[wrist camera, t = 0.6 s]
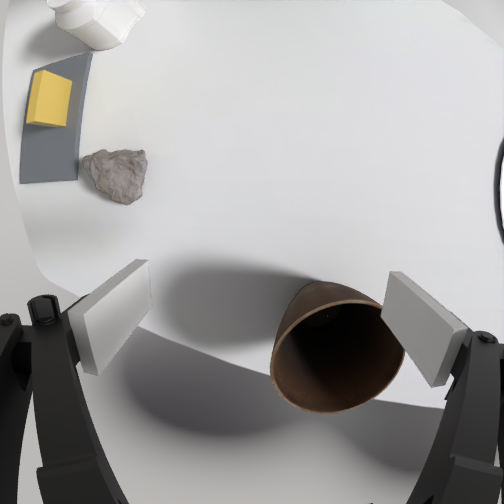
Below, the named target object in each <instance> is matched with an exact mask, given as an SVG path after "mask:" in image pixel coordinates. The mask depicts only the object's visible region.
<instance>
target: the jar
mask: <svg viewBox="0 0 504 504" xmlns="http://www.w3.org/2000/svg"><path fill="white" fill-rule="evenodd" d="M46 3H47V6H48V7H50V8H51V9H53V10H54V11H55V21H56V24H57V26H58V27H59V28H61V29H63V30H65V31H67V32H69V33H71V34H72V35H74V36H75V37H77V38H78V39H80V40H82V41H83V42H85V43H86V44H87V45H88V46H90V47H91V48H93V49H96V50H107V49H111V48H114V47H116V46H118V45H120V44H122V43H123V42H124V40H125V39H126V37H127V35H128V33H129V31H130V29H131V28H132V27H133V25H134V24H135V23H136V22H137V21H138V20H139V19H141V18H142V16H143V15H144V14H145V7H144V4H143V3H142V2H141V0H46Z"/></svg>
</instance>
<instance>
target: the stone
mask: <svg viewBox="0 0 504 504" xmlns="http://www.w3.org/2000/svg"><path fill="white" fill-rule="evenodd" d="M83 167H84V168H85V169H86V170H87V172H88V175H89V176H90V177H91V178H92V179H93V180H94V182H95V186H96V188H97V189H98V190H100V191H102V192H103V193H106V194H108V195H109V196H110V198H111V199H112V200H115V201H119V202H121V203H123V204H124V205H129V204H131V203H132V202H134V201H135V200H137V199H139V198H140V197H141V196H142V185H143V183H144V176H145V172H146V169H147V160H146V158H145V151H143V150H140V152H137V151H131V150H121V151H119V150H118V151H115V152H112V153H111V152H107V150H100V151H98V153H94V154H93V155H88V156H85V157H84V158H83Z"/></svg>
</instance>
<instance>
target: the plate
mask: <svg viewBox="0 0 504 504" xmlns="http://www.w3.org/2000/svg"><path fill="white" fill-rule="evenodd" d="M499 188H500V210H501V217H502V225H503V229H504V155H503V160H502V164H501V174H500V185H499Z"/></svg>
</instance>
